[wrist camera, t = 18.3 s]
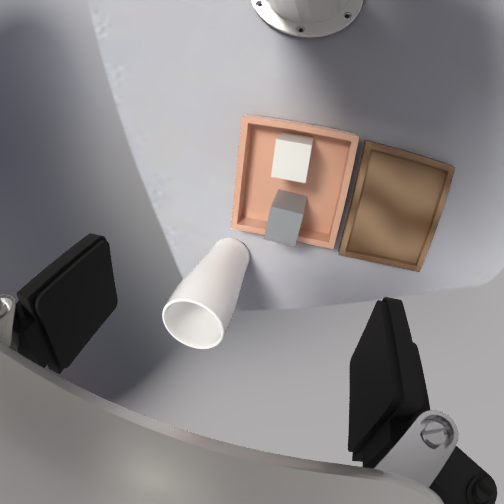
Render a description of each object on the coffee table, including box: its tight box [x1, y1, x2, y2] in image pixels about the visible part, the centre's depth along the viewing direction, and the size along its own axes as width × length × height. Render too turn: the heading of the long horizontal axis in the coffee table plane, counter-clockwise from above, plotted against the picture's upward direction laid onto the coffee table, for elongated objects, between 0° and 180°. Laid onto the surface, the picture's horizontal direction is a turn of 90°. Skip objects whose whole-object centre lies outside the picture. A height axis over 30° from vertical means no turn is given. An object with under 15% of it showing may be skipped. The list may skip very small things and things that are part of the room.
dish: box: [231, 114, 359, 249], centre depth 35 cm, size 13×12×3 cm
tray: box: [338, 140, 455, 272], centre depth 34 cm, size 14×11×1 cm
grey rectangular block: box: [264, 189, 307, 247], centre depth 35 cm, size 4×3×6 cm
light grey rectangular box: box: [271, 132, 314, 183], centre depth 31 cm, size 4×3×6 cm
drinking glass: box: [162, 238, 250, 349], centre depth 37 cm, size 7×7×15 cm
